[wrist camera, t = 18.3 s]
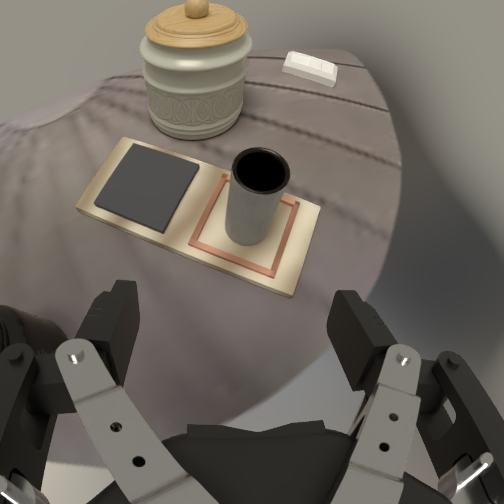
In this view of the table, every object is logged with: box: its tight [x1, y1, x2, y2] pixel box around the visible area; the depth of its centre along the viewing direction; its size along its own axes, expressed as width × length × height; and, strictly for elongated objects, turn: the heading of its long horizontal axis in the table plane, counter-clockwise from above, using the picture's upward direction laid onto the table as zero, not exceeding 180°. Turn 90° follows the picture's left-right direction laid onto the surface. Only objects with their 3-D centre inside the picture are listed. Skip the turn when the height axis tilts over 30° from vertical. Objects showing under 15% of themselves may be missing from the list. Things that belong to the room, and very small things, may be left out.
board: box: [75, 137, 320, 298], centre depth 33 cm, size 26×11×2 cm, turn 69°
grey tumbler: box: [225, 147, 290, 246], centre depth 28 cm, size 4×4×10 cm
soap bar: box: [282, 51, 337, 87], centre depth 45 cm, size 5×9×3 cm, turn 75°
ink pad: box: [94, 143, 200, 234], centre depth 32 cm, size 9×9×1 cm
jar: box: [139, 0, 252, 140], centre depth 31 cm, size 13×13×18 cm
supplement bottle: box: [0, 305, 66, 355], centre depth 20 cm, size 7×7×12 cm
